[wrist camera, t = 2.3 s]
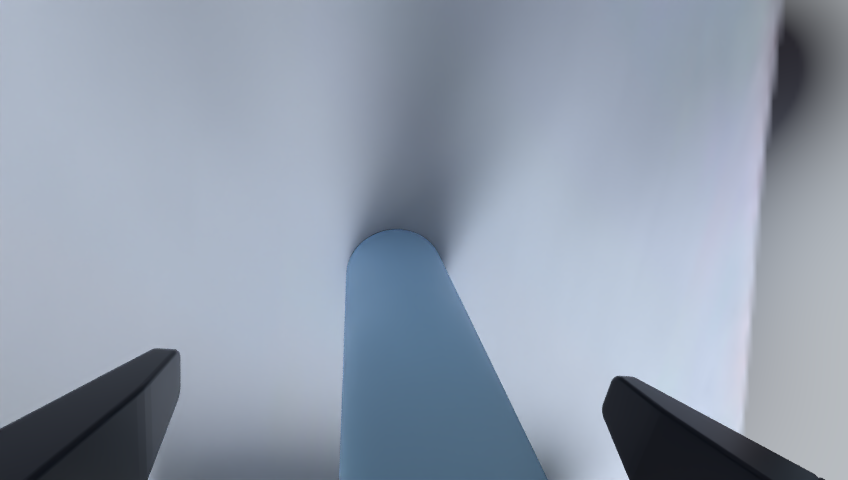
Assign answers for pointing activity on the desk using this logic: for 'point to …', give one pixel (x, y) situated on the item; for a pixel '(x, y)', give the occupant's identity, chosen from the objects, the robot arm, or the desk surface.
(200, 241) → the desk surface
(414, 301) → the peg
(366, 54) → the desk surface
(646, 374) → the desk surface
